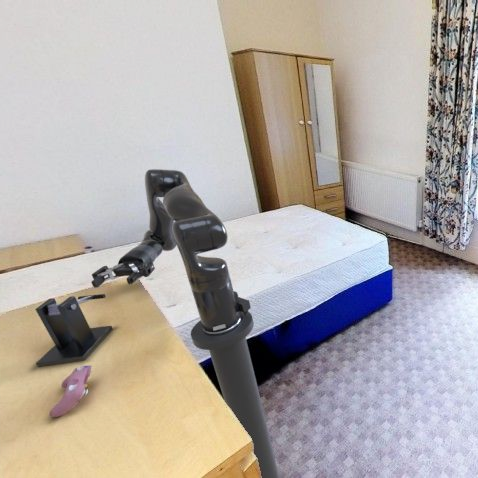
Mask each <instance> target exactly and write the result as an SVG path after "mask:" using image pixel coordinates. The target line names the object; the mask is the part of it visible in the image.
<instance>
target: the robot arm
mask: <svg viewBox="0 0 478 478" xmlns="http://www.w3.org/2000/svg"><path fill="white" fill-rule="evenodd" d="M144 189H145V195H146V202H147V203H146V204H147V207H148V208H147V209H148V212H149V223H148V224H149V225H148V228H149V229H148V230H147V231H145V232H144V233H143V237H142V240H141V242H140V243H139V244H137V246H135V247H133V248H132V249H130V250H129V251H128V252H127V253H125V254H123V256H121V257H120V258H119V260H118V262H117V264H116V265H113V266H112V267H108V266H107V265H103V266H101V267H100V268H99V269H97V270H95V271H94V272H93V273H91V277H92V279H93V280H91V285H92V287H93V288H95V289H96V288H99V287H100V286H101V285H102V284H104V283H105V282H107V281H109V280H112V281H113V280H115V279H118V278H121V277H127V278H126V282H127V284H128V285H133V284H134V283H135V282H137V281H138V280H139V279H142V278H143V277H144V278H148V277H150V275H151V274H152V273H153V272H154V271H155V269H156V267H155V265H154V262H155V261H156V259H157V258H158V257H159V256H160V255H161V254H162V253H163V251H164V252H170V251H173V250H174V249H175V248H176V247H177V249H178V251H179V254H180V257H181V259H182V262H183V266H184V269H185V273H186V275H187V276H186V277H187V280H188V283H189V286H190V290H191V292H192V296H193V299H194V303H195V307H196V309H197V313H198V316H199V319H200V320H201V323H202V327H203V331H204V333H205V334H207V335H221V334H225V333H228V332H230V331H232V330H233V329H235V328H236V327H237V326H238V325H239V324H240V322H241V320H243V319H244V318H243V314H242V312H244V315H246V314H247V312H249V310H250V309H251V308H252V307H251V303H250V300H248V299H245V298H244V297H240V296H239V293H238V291H235V290H234V287H233V283H232V279H231V276H230V271H229V267H228V263H227V261H226V260H224V259H223V258H221V257H216V256H215V257H213V256H201V255H198V254H203V253H207V252H211V251H215V250H219V249H221V248H223V247H224V246H226V245H227V243H228V239H229V238H228V231H227V229H226V227H225V224H224V223H223V222H222V220H221V219H220V218H219V216H217V214H215V213H214V212H213V211H211V209H209V208H208V207H207V206H206V204H205V203H204V201H203V200H202V199H201V197H200V196H199V194H197V192H195V190H194V189H193V187H192V186H191V184H190V182H189V179H188V177H187V176H186V174H185V173H184V172H183V171H180V170H177V169H160V168H155V169H154V168H151V169H148V170H147V171H146V172H145V174H144ZM161 198H163V199H162V200H161Z"/></svg>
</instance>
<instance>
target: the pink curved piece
mask: <svg viewBox="0 0 478 478" xmlns="http://www.w3.org/2000/svg"><path fill="white" fill-rule="evenodd" d="M91 373H92V365H82V366H76V368H74V369H73V371H72V372H71V374H69V375H68V376H67V377H66V378H65V379H64V380H63V381H62V383H61V388H63V389H65V390H64V394H63V395H62V398H61V399H60V400H59V401H58V403H56V404H55V405H54V406H53V407H51V409H50V411H49V417H51V418H59V417H60V416H63V415H65V414H67V413H69V412H70V411H71V410H72V409H73V408H74V407H75V406H76V405H78V404H79V403H80V401H81V399H82V398H83V396H85V397H86V396H87V394H88V392H89V389H88V385H89V384H87V381H88V379H89V378H90V376H91Z"/></svg>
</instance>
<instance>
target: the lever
mask: <svg viewBox="0 0 478 478" xmlns="http://www.w3.org/2000/svg"><path fill="white" fill-rule="evenodd" d="M105 298H106V294H105V293H100V294H91V295H81V296H78V297H77V299H76V300H77V302H78V304H79V305H80V304H83V303H87V302H89V301H93V300H100V299H105ZM62 302H63V301H60V302H56V303H55V304H52V305H48V306H47V307H48V313H49V315H58V314H60V312H59V310H58V308H57V306H59V305H60V304H61V303H62Z"/></svg>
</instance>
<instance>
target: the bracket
mask: <svg viewBox="0 0 478 478" xmlns="http://www.w3.org/2000/svg"><path fill="white" fill-rule="evenodd" d="M77 300H78V299H77V298H76V296H75V295H72V296H69V297H67V298H66V299H64V300H63V301H61V302H62V303H61V304H60V305H59V306H57V308H58V310H59V312H60V314H58V315H49V313H48V307H47V306H48V305H52V304H55V303H57V300H56V299H55V298H54V297H53V298H47V300H45V301H44V302H43V303H41V304H40V305H38V306H37V307H36V308H35V309H34V310H35V312H36V313H37V315H38V317H39V318H40V320H41V323H42V324H43V326H44V327H45V330H46V332H47V333H48V335H49V336H50V339H51V340H52V342H53V343H54V346H52V348H50V349H49V350H48V351H46V353H45V354H44V355H43V356H42V357H40V358H39V359H38V360H37V361H36V362H35V364H36V366H37V368H41V367H49V366H55V365H61V364H68V363H75V362H83V361H85V360H86V359H87V358H88V357H89V356H90V355H91V354H92V353H93V352H94V351H95V350H96V349H97V347H98V346H99V345H100V344H101V343H102V342H103V341H104V340H105V339H106V337H108V336H109V334H110V333H111V332H112V331H113V330H114V329H113V326H112V325H104V326H96V327H90V325H89V323H88V321H87V319H86V316H85V315H84V312H83V311H82V309H81V306H80V304H78V302H77Z"/></svg>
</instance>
